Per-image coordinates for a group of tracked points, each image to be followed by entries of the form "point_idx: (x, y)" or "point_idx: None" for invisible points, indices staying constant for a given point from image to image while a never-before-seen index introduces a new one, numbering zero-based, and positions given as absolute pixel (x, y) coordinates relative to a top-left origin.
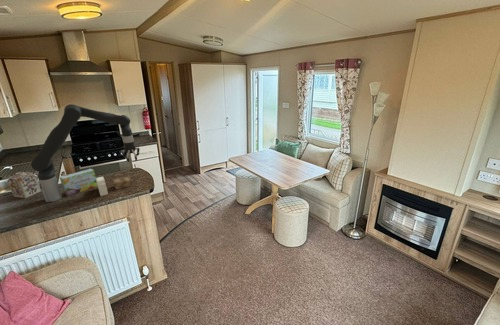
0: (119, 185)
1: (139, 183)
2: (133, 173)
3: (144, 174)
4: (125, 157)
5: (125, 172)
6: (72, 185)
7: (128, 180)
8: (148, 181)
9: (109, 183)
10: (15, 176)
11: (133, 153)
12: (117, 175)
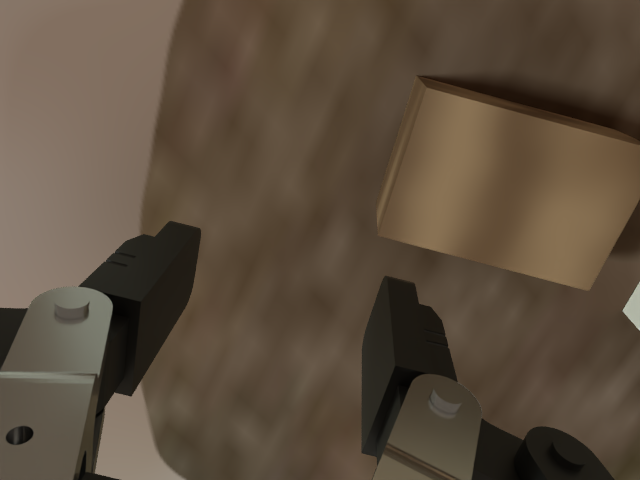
0: (587, 126)
1: (316, 70)
2: (241, 397)
3: None
4: (533, 432)
5: (292, 473)
6: None
7: (465, 104)
8: (197, 32)
9: (548, 353)
10: None
11: (86, 465)
12: None
